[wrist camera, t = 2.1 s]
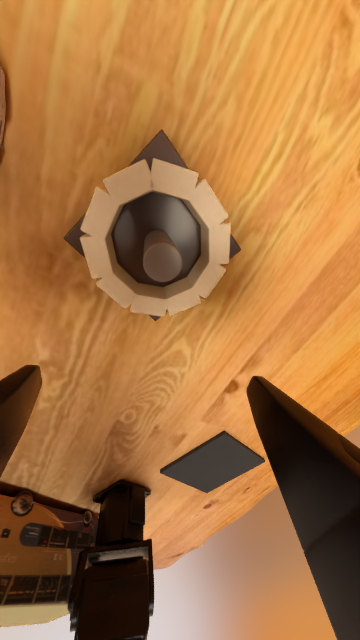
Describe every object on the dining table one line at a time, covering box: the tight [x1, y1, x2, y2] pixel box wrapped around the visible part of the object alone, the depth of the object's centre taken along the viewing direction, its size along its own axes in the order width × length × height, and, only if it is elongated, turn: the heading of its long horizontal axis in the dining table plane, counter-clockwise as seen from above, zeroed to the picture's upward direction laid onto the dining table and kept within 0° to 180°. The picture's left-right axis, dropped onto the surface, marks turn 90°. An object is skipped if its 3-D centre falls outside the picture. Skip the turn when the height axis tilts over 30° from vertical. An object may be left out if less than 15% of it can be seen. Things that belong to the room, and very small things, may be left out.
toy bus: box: [0, 490, 99, 627], centre depth 28 cm, size 10×23×10 cm, turn 34°
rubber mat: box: [160, 431, 265, 493], centre depth 33 cm, size 12×12×1 cm
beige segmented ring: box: [80, 158, 231, 317], centre depth 14 cm, size 9×9×2 cm
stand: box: [64, 130, 241, 321], centre depth 13 cm, size 9×9×6 cm
